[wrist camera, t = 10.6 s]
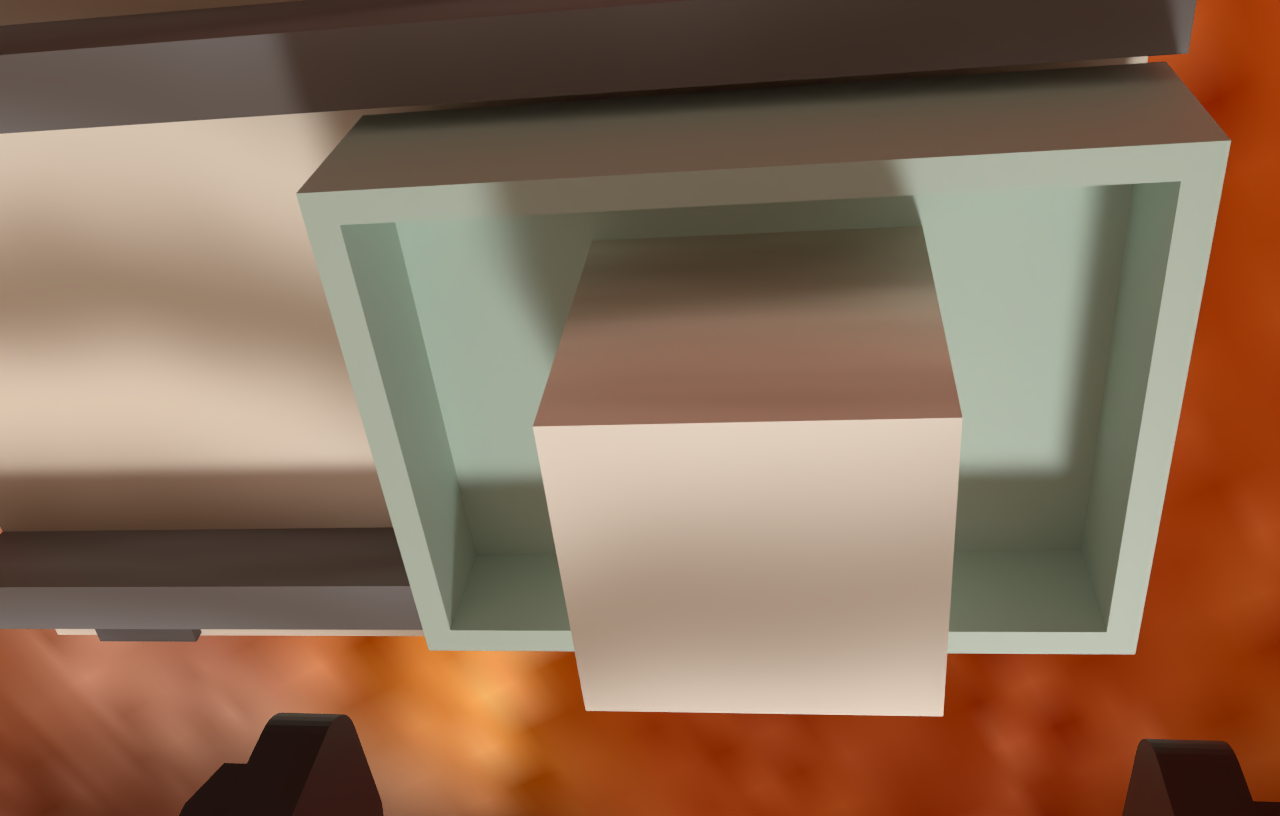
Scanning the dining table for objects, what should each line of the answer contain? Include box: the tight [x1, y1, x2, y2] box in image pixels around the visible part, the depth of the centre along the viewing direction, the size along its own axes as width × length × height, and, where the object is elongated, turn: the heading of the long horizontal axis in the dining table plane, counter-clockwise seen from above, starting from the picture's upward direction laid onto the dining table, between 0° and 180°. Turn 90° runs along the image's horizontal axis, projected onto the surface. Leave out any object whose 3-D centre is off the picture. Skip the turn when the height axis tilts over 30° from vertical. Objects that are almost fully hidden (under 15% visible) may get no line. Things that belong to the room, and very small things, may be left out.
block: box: [533, 226, 963, 716], centre depth 17 cm, size 5×5×5 cm
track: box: [0, 0, 1196, 642], centre depth 21 cm, size 16×23×3 cm
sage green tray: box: [296, 62, 1231, 654], centre depth 19 cm, size 9×12×4 cm
